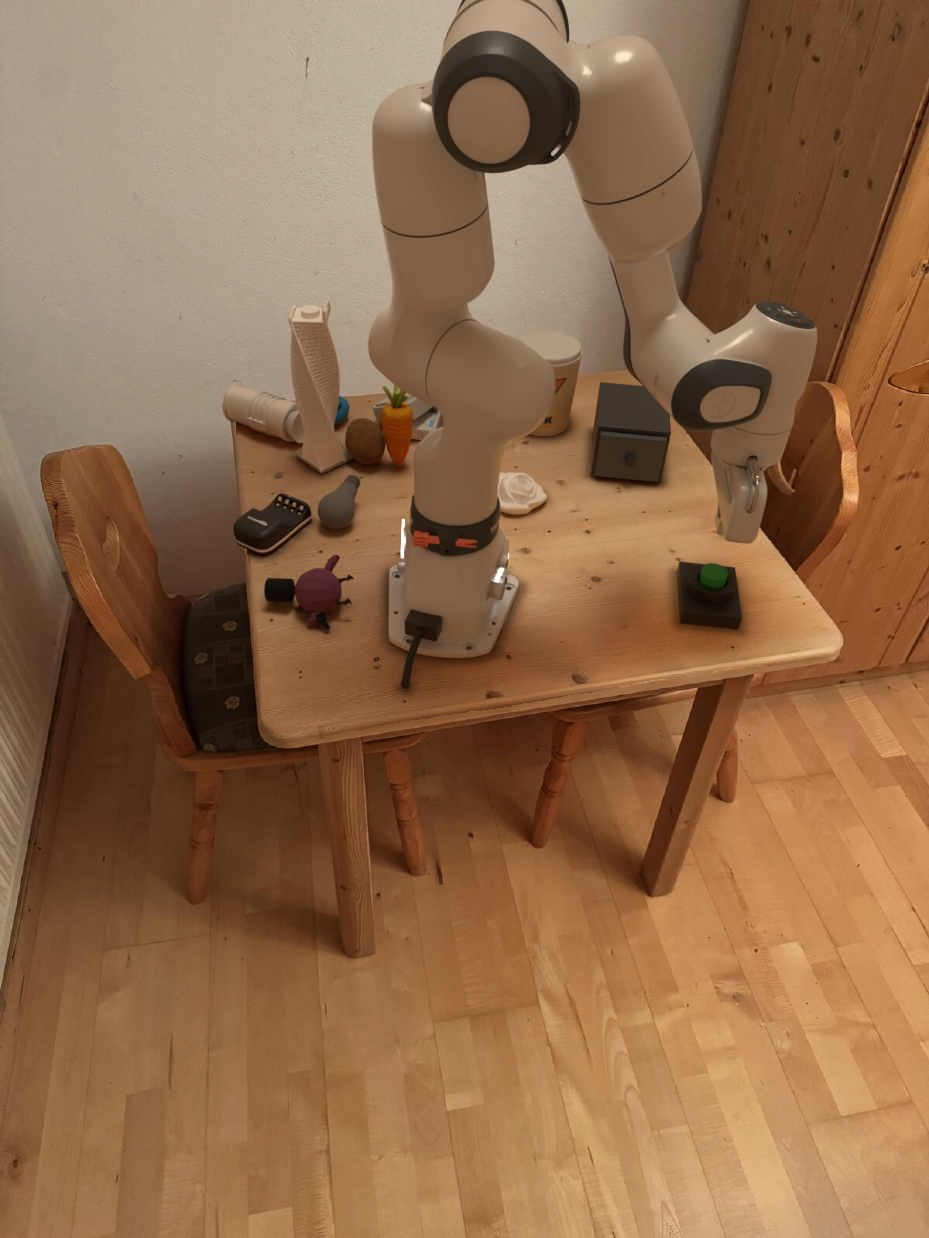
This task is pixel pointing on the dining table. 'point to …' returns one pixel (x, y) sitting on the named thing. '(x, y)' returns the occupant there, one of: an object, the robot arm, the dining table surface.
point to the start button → (713, 576)
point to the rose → (519, 493)
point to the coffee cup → (557, 374)
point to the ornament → (342, 410)
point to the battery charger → (271, 524)
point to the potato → (365, 441)
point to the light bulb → (339, 504)
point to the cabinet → (628, 416)
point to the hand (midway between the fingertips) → (721, 529)
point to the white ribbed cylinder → (263, 413)
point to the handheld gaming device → (413, 402)
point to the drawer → (630, 455)
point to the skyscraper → (316, 386)
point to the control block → (707, 599)
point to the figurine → (310, 591)
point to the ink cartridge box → (425, 423)
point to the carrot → (397, 425)
